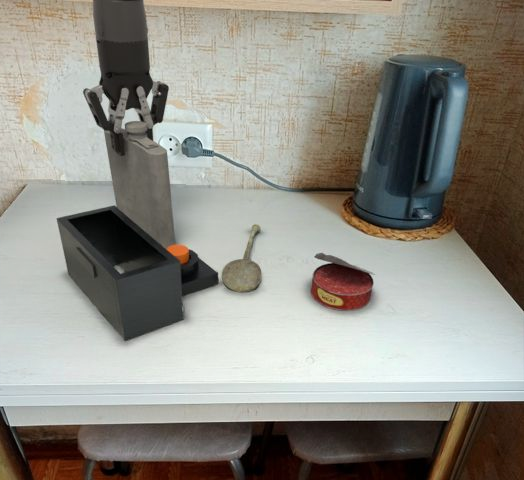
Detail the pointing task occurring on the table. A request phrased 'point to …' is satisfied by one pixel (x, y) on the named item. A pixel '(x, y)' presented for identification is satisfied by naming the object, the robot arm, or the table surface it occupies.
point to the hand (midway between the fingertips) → (133, 151)
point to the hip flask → (143, 182)
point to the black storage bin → (131, 261)
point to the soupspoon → (243, 270)
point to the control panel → (196, 275)
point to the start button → (179, 252)
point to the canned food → (341, 284)
